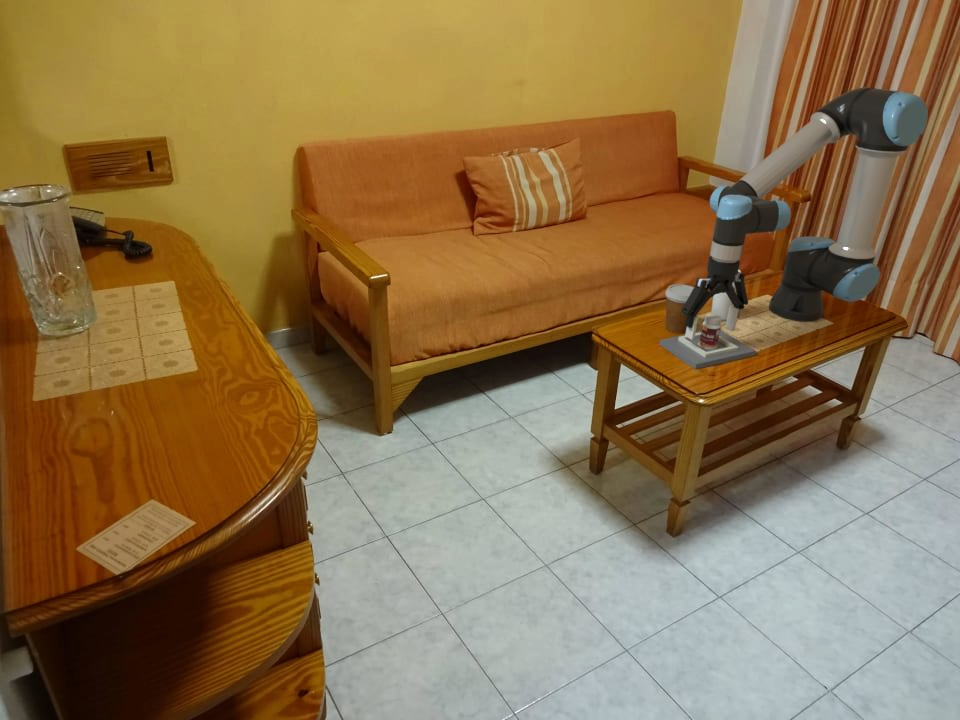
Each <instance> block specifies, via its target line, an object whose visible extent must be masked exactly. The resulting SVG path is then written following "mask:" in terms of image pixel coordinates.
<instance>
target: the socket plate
mask: <svg viewBox="0 0 960 720" xmlns="http://www.w3.org/2000/svg"><path fill="white" fill-rule="evenodd" d="M700 335H701V331H698V332H697V331H696V332H695V337H694V340H691V339H689V338H688V337H686V336H685V334H683V335H682V334H681V335H677V336H672V337H668V338H663V339H660V340H659V346H660V345H661V347H662V348H663V347H664V348H663V349H665V350H666V351H668V352H669V353H671V354H672V355H674V356H676V358H678V359H679V360H681V361H683V362H684V363H685V364H686V365H688V366H689V367H691V368H693V369H694V370H698V369H702V368H706V367H707V368H708V367H712V366H716V365H721V364H725V363H729V362H734V361H738V360H742V359H746V358H750V357H751V358H752V357H755V356H756V354H757V350H756V349H754V348H752V347H750V346H749V345H747V344H745V342H744V343H743V342H742V341H740V340H739V339H737V338H736V337H734V336H732V335H730V334H729V333H726V332H725V331H724V330H720V334H719V339H718V344H717V347H715V348H711V349H709V348H704V347H702V346H701V345H700V344H699V341H700Z"/></svg>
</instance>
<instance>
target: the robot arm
mask: <svg viewBox="0 0 960 720" xmlns="http://www.w3.org/2000/svg"><path fill="white" fill-rule="evenodd" d="M928 116H929V113H928V107H927V104H926V103H925V102H924V100H923V98H921V97H920V96H919V95H916V94H912V93H908V92H907V91H899V90H893V89H892V90H890V89H882V88H875V87H869V86H865V87H859V88H854V89H851V90H849V91H847V92H844V93H843V94H840V95H838V96H837V97H835V98H833V99H832V100H830V101H828V102H827V103H826V104H824V105H823V106H821V107H820V108H819V109H818V110H815V112H813V114H811V116H810V118H809V119H810V120H809V121H808V123H806V124H805V125H804V126H803V127H802V128H800V129H799V130H798V131H797V132H795V134H793V135H792V136H791V137H790V138H788V139H787V140H786V141H785V142H783V143H782V144H781V145H780V146H779V147H777V148H776V149H775V150H773V151H772V153H770V154H768V156H766V157H765V158H764V159H763V160H761V161H760V162H759V163H757V164H756V166H754V167H753V168H752V169H751V170H749V171H748V172H747V173H746V174H744V176H742V177H741V178H740V179H739V180H737V181H735V183H734V184H733V185H731V186H730V185H721V186H719V187H717V188H715V189H714V191H712V194H711V195H710V198H709V206H710V209H711V210H712V212H714V213H716V218H715V225H714V230H713V236H712V241H711V247H710V252H709V255H710V256H709V258H708V262H707V268H706V270H707V277H706V278H701V277H697V278H696V281H695V284H694V286H693V287H694V289H693V290H692V292H691V294H690V296H689V297H688V299H687V301H686V303H685V305H684V306H683V308H682V310H681V312H682V313H684V314H685V315H687V319H686V326H687V328H686V333H684V335H685V336H686V337H688V338H689V339H691V340H694V337H695V333H697V331H696V330H697V325H698V322H699V321H698V320H699V316H698V314H699V313H700V312H701V310H702V309H703V307H704V306H705V305H706V304H707V303H708V301H709V300H710V299H711V298H713V296H714V295H715V294H719V293H725V292H726V294H727V295H728V297H729V299H730V301H731V302H732V304H733V305H731V306H730V307H729V312H728V317H727V320H725V321H726V323H725V329H727V330H729V331H730V332H732V333H733V332H735V329H736V325H737V321H738V318H739V317H740V312H741V310H744V309H745V306H746V305H748V304H749V299H748V294H747V289H746V285H745V277H746V275H745V274H744V273H742V272H741V273H740V272H738V269H739V268H740V264H741V261H740V260H741V259H742V255H743V250H744V245H745V240H746V236H747V235H750V234H751V235H752V234H761V233H774V232H776V231H782V230H784V229H785V228H787V226H788V225H789V224H790V221H791V217H792V211H791V207H790V206H789V204H788V203H787V202H786V201H783V200H776V199H775V200H765V199H763V197H765V196H766V195H767V194H768V193H770V192H771V191H772V190H774V189H775V188H776V187H777V186H778V185H779V184H781V183H782V182H783V181H785V179H787V178H788V177H789V176H790V175H792V174H793V173H794V172H796V170H797V169H799V168H800V167H802V166H803V165H804V164H806V162H807V161H809V160H810V159H811V158H812V157H813V156H815V155H816V154H818V153H819V152H820V151H821V150H822V149H823V148H825V147H826V146H827V145H829V144H835V143H837V142H838V141H839V140H841V139H842V138H844V137H846V136H850V135H853V136H857V139H856V142H855V148H856V149H857V150H858V152H859V157H858V160H857V164H856V168H855V171H854V175H853V180H852V183H851V187H850V190H849V195H848V197H847V202H846V205H845V209H844V213H843V216H842V220H841V223H840V224H841V225H840V227H839V231H838V234H837V238H836V239H837V240H836V241H835V240H834V239H832V238H829V237H823V236H800V237H799V236H798V237H796V238H794V239H792V240H791V242H790V244H789V245H790V246H789V248H788V250H787V255H786V259H785V264H784V269H783V272H782V278H781V279H780V280H781V281H780V284H779V285H778V287H777V289H776V290H775V292H774V293H773V295H772V297H771V298H770V301H769V305H768V309H769V311H771V312H772V313H773V314H774V315H777V316H778V317H781V318H785V319H787V320H792V321H798V322H814V321H818V320H820V319H821V318H822V316H823V314H824V313H823V312H824V310H825V309H824V304H823V292H824V293H827V294H829V295H831V296H833V297H834V298H836V299H839V300H843V301H845V302H848V303H852V302H858V301H860V300H862V299H864V298H865V297H867V295H869V294H870V293H871V292H872V291H873V290H874V289H875V287H876V286H877V284H878V283H879V280H880V277H881V270H880V268H879V267H878V266H877V265H876V264H875V263H874V262H875V260H876V259H875V258H876V255H877V253H876V251H875V250H874V249H873V247H872V246H873V242H874V239H875V236H876V232H877V230H878V226H879V223H880V219H881V216H882V212H883V208H884V205H885V202H886V199H887V195H888V192H889V189H890V185H891V181H892V178H893V175H894V172H895V167H896V165H897V164H896V163H897V161H898V158H899V157H900V156H901V155H903V154H905V153H906V152H907V151H908V147H909V146H910V145H913V144H914V143H916V142H917V141H918V140H919V139H920V136H922V135H923V133H924V132H925V129H926V127H927V124H928V120H929V117H928ZM739 270H740V269H739ZM733 282H734V284H735V288H736V293H735V289H734V287H733V286H732V283H733ZM693 310H694V312H693Z"/></svg>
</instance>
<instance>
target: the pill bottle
mask: <svg viewBox="0 0 960 720" xmlns="http://www.w3.org/2000/svg"><path fill="white" fill-rule="evenodd" d="M721 322H722V321H721V317H720V316H719V315H716V314H711V313H708V314H705V316H704V321H703V323H702V326H701V330H700V332H701V335H700V341H699V344H700V345H701V346H702V347H704V348H709V349H711V348H715V347H717V344H718V339H719V334H720V330H721V329H722V324H721Z"/></svg>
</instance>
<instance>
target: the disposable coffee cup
mask: <svg viewBox="0 0 960 720" xmlns="http://www.w3.org/2000/svg"><path fill="white" fill-rule="evenodd" d="M694 287H695V286H691V285H687V284H672V285H669V286H668V288H667V289H666V290H665V292H664V293H665V297H666V299H665V300H666V301H665V302H666V303H665V305H666V306H665V307H666V308H665V329H666V330H667V331H668V332H670V333H674V334H686V328H687V326H686V319H687V315H685V314H684V313H682V312H681V310H682V308H683V306H684V305H685V303H686V301H687V299H688V297H689V296H690V294H691V292H692V290H693V289H694ZM693 312H694V310H693Z"/></svg>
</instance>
